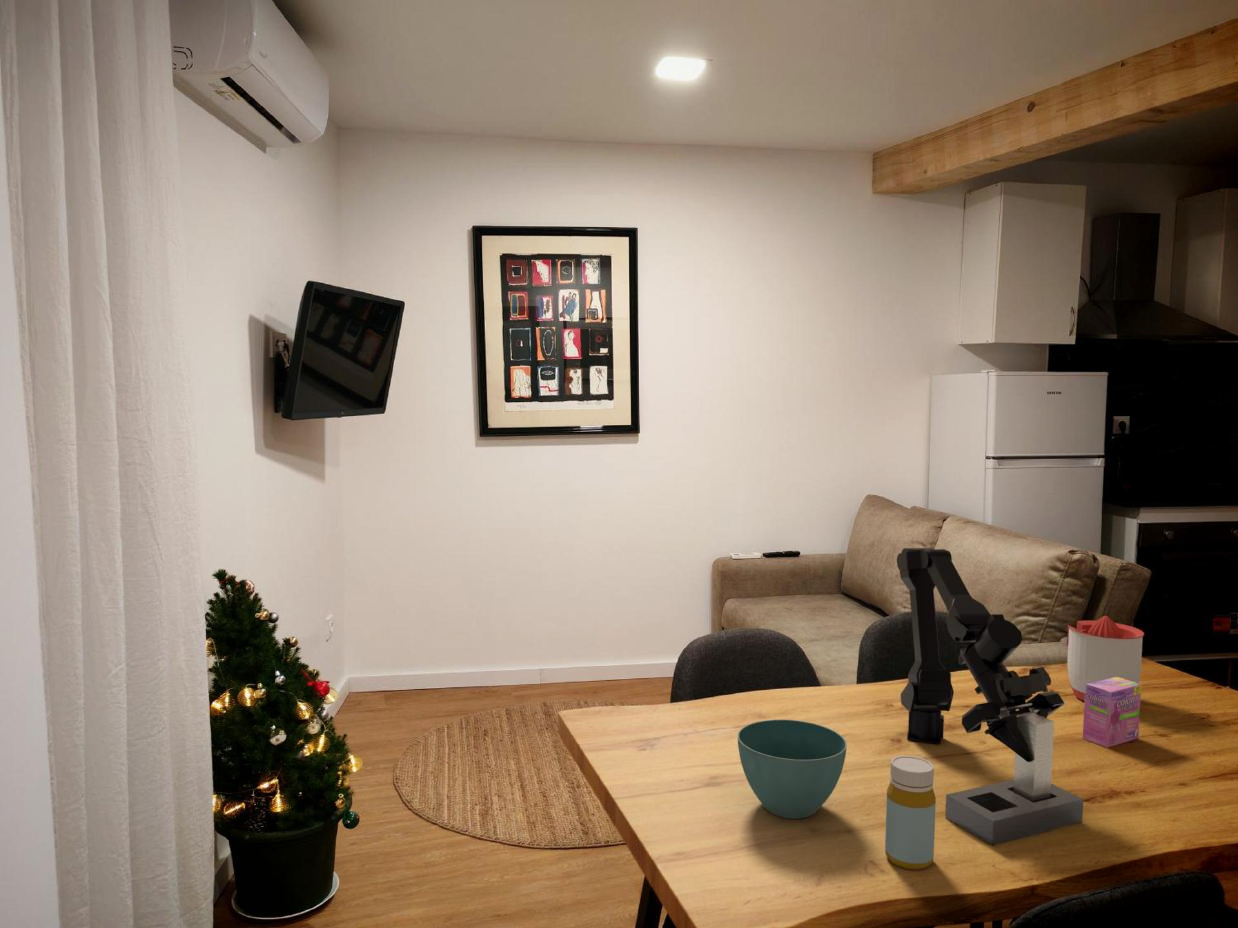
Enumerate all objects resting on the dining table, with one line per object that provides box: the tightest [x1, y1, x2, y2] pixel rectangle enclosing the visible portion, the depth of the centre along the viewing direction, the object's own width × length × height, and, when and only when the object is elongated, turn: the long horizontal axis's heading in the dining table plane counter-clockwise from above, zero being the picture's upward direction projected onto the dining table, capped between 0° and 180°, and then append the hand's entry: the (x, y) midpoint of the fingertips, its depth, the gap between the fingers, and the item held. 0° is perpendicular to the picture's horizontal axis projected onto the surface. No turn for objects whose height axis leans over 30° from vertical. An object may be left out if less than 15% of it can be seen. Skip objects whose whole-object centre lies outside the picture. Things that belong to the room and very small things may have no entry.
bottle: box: [884, 755, 937, 871], centre depth 132 cm, size 7×7×15 cm
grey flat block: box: [944, 778, 1084, 847], centre depth 145 cm, size 20×10×4 cm, turn 113°
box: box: [1082, 677, 1143, 749], centre depth 180 cm, size 10×6×12 cm, turn 117°
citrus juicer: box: [1059, 615, 1145, 702], centre depth 205 cm, size 16×17×20 cm
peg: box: [1013, 713, 1055, 801], centre depth 146 cm, size 4×4×13 cm
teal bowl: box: [737, 718, 848, 820], centre depth 149 cm, size 18×18×12 cm
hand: (1040, 758), depth 145 cm, fingers closed on peg, 4 cm apart
